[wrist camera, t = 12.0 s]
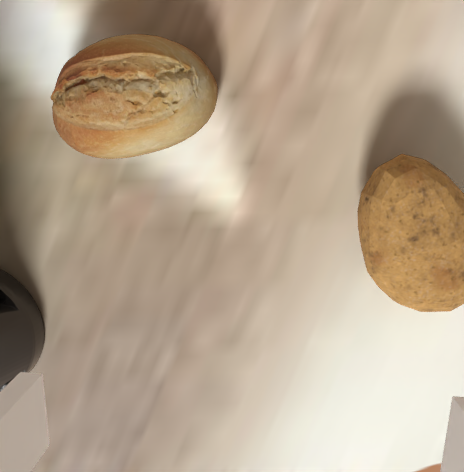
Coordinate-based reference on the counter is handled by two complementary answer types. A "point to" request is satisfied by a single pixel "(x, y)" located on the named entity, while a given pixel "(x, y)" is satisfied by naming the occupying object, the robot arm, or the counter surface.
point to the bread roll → (132, 96)
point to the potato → (414, 234)
